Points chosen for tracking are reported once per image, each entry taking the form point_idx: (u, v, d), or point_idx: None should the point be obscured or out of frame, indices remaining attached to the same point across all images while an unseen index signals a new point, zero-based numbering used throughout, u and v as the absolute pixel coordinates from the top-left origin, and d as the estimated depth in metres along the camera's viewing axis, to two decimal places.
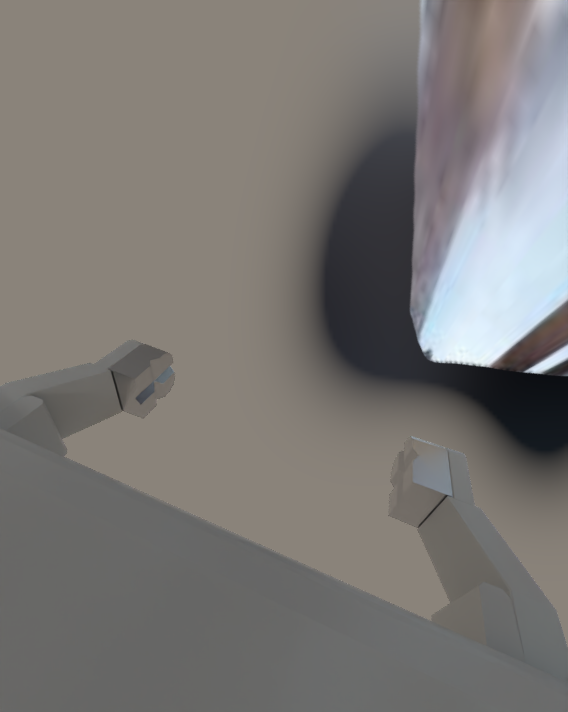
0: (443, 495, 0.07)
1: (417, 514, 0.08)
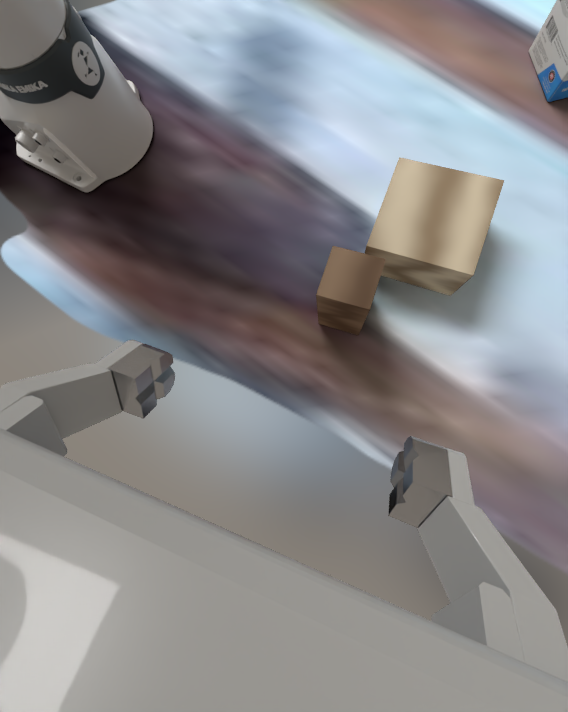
0: (443, 495, 0.07)
1: (417, 514, 0.08)
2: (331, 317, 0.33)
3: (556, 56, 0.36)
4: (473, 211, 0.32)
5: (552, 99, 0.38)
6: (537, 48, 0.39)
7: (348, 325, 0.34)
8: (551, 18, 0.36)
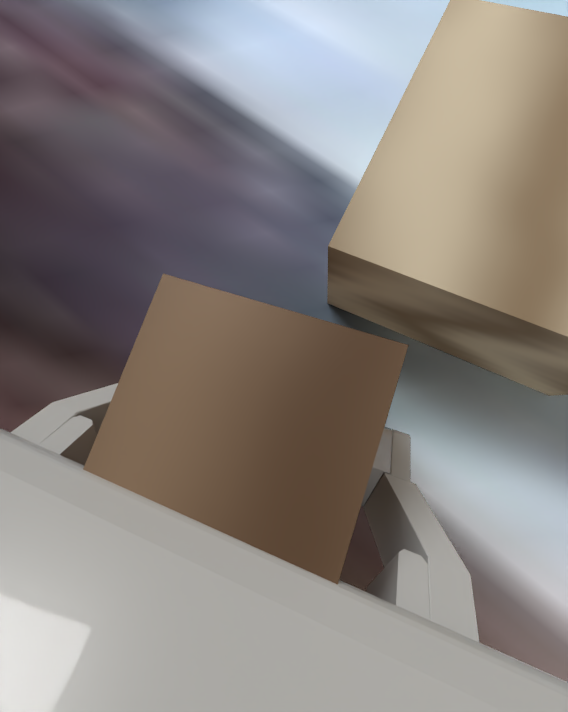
0: (381, 472, 0.08)
1: None
2: None
3: None
4: None
5: None
6: None
7: None
8: None
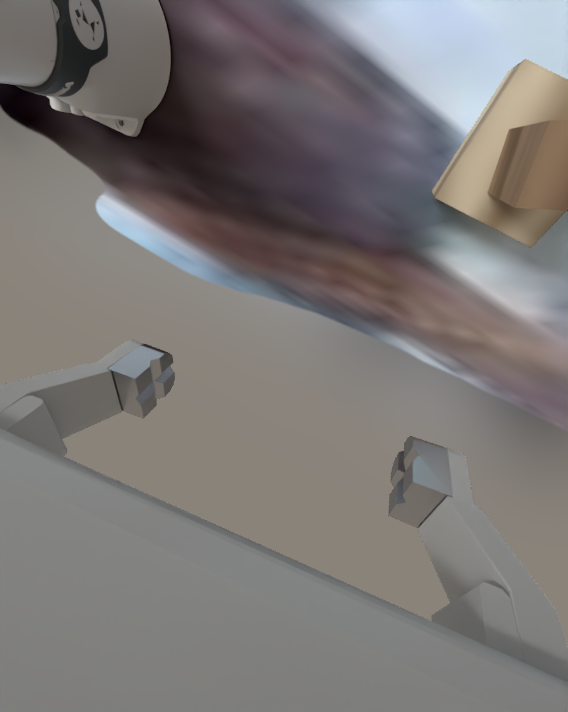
0: (443, 495, 0.07)
1: (417, 514, 0.08)
2: None
3: None
4: None
5: None
6: None
7: None
8: None
